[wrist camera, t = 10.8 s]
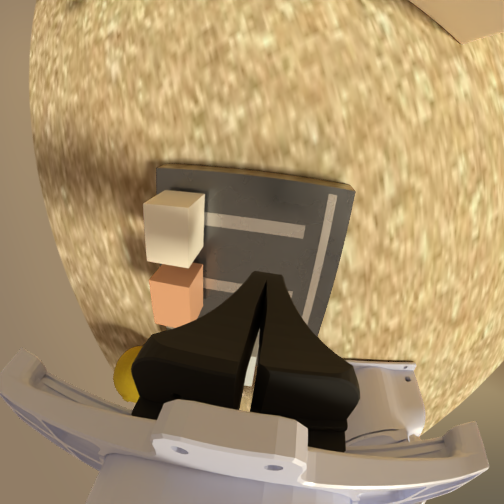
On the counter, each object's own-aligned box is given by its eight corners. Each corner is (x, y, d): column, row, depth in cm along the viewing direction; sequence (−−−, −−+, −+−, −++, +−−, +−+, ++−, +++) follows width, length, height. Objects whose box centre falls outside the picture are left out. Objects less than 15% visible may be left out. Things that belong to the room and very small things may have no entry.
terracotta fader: (203, 264, 21) (189, 287, 18) (203, 305, 23) (191, 331, 20) (166, 258, 21) (149, 280, 18) (170, 299, 23) (154, 323, 20)
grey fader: (261, 329, 23) (256, 357, 20) (256, 359, 25) (251, 386, 22) (226, 323, 23) (217, 350, 20) (225, 354, 25) (217, 380, 22)
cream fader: (204, 193, 19) (188, 208, 16) (203, 246, 20) (188, 268, 17) (165, 190, 19) (143, 203, 16) (166, 240, 21) (146, 261, 18)
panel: (349, 184, 19) (355, 191, 18) (305, 357, 27) (305, 372, 26) (167, 163, 20) (156, 167, 19) (175, 335, 29) (169, 348, 27)
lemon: (124, 334, 30) (93, 381, 23) (159, 330, 29) (128, 384, 22) (147, 365, 32) (123, 412, 25) (182, 364, 31) (159, 417, 24)
